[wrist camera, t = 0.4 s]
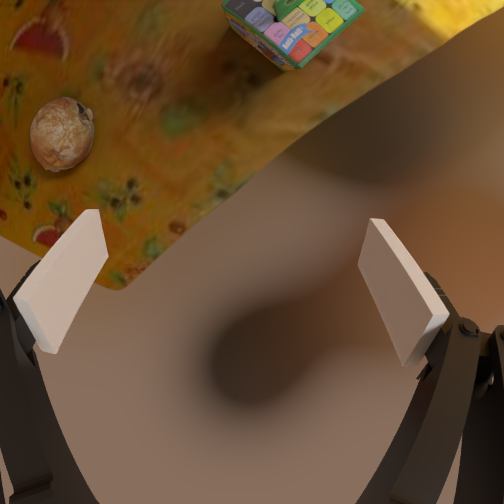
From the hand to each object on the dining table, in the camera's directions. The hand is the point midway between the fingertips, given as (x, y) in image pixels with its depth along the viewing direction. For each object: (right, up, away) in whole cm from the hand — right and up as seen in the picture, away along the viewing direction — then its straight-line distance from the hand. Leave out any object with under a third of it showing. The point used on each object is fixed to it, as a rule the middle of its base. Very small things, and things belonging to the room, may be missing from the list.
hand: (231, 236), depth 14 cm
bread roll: (-25, +16, +20) cm, 35 cm away
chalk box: (+4, +26, +14) cm, 30 cm away
